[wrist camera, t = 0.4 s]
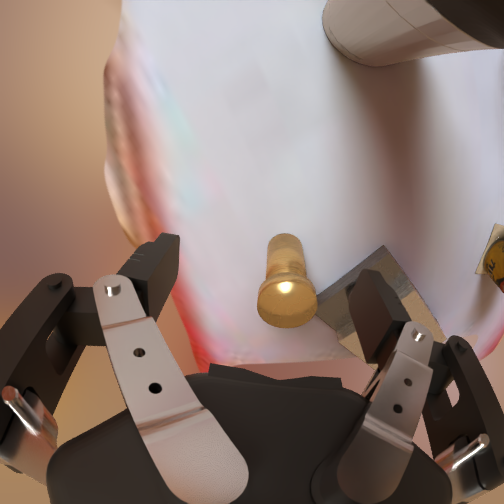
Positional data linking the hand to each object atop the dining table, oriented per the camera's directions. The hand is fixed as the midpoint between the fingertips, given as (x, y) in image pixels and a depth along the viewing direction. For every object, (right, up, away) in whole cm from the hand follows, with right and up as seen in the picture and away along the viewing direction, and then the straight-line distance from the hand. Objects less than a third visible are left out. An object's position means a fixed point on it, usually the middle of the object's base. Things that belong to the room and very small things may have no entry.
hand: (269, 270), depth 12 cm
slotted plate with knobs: (+18, -8, +24) cm, 32 cm away
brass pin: (+3, +1, +20) cm, 21 cm away
